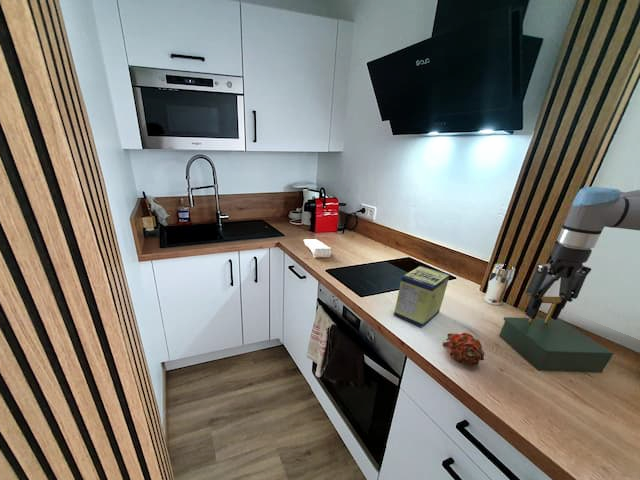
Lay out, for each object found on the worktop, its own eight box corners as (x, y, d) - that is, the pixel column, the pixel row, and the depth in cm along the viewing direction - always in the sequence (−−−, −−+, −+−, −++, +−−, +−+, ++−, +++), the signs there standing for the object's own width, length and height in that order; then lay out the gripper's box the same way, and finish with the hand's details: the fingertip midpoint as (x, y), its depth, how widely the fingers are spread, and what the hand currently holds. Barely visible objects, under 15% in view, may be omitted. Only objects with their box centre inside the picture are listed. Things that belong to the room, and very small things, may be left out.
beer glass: (506, 306, 110) (520, 271, 104) (486, 304, 111) (499, 269, 105) (496, 298, 116) (509, 264, 110) (478, 296, 117) (490, 262, 111)
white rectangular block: (303, 251, 178) (315, 262, 152) (301, 240, 176) (312, 249, 150) (318, 247, 179) (333, 257, 153) (316, 235, 177) (330, 244, 150)
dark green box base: (498, 335, 92) (504, 320, 90) (552, 337, 92) (560, 322, 90) (538, 370, 78) (546, 353, 76) (602, 372, 78) (612, 355, 76)
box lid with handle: (503, 319, 91) (514, 292, 87) (558, 320, 91) (571, 293, 87) (546, 353, 76) (562, 322, 72) (612, 355, 76) (631, 324, 72)
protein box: (439, 312, 105) (450, 273, 99) (422, 328, 95) (433, 286, 89) (411, 301, 112) (420, 265, 106) (392, 315, 102) (401, 276, 96)
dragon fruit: (472, 379, 76) (443, 355, 88) (499, 362, 76) (467, 339, 87) (459, 357, 74) (431, 335, 86) (487, 339, 74) (455, 319, 85)
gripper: (594, 242, 82) (560, 311, 91) (528, 240, 82) (501, 309, 91) (623, 251, 75) (583, 324, 84) (551, 249, 75) (519, 322, 84)
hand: (540, 316), depth 87 cm, fingers closed on box lid with handle, 6 cm apart
